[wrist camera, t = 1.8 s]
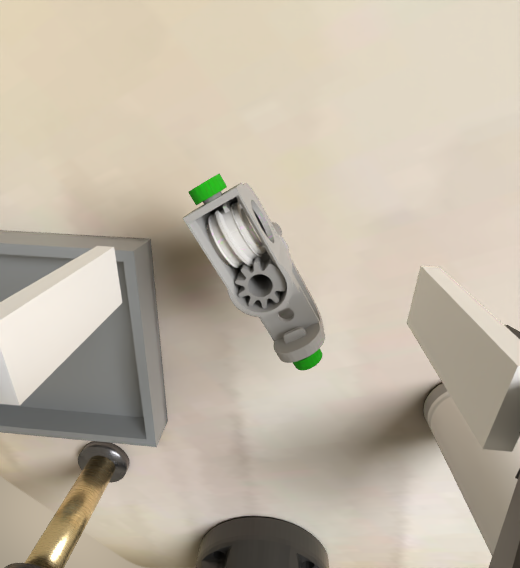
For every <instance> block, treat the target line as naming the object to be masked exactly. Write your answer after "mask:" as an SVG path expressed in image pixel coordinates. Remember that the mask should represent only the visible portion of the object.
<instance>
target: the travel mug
mask: <svg viewBox="0 0 520 568" xmlns="http://www.w3.org/2000/svg"><path fill="white" fill-rule="evenodd" d="M424 416H425V419H426V421H427V423H428V425H429V427H430V429H431V431H432V433H433V435H434V438H435V440H436V442H437V444H438V446H439V448H440V450H441V452H442V454H443V456H444V458H445V460H446V462H447V464H448V466H449V468H450V470H451V472H452V474H453V477H454V479H455V481H456V483H457V485H458V487H459V489H460V491H461V493H462V495H463V497H464V499H465V501H466V503H467V505H468V507H469V509H470V511H471V514H472V516H473V518H474V520H475V522H476V524H477V526H478V528H479V530H480V532H481V534H482V536H483V538H484V540H485V542H486V544H487V546H488V548H489V550H490V553H491V555H492V556H493V553H494V550H495V547H496V544H497V541H498V538H499V535H500V532H501V529H502V526H503V523H504V520H505V517H506V514H507V511H508V508H509V505H510V502H511V499H512V496H513V493H514V490H515V487H516V484H517V481H518V479H516V478H515V476H516V475H517V473H518V471H519V469H520V437H519V439H518V441H517V443H516V445H515V447H514V449H513V451H512V452H509V451H498V450H487V449H482V447H481V446H480V444H479V442H478V441H477V439H476V437H475V436H474V434H473V432H472V431H471V429H470V427H469V426H468V424H467V422H466V421H465V419H464V417H463V416H462V414H461V412H460V411H459V409H458V407H457V406H456V404H455V402H454V401H453V399H452V398H451V396H450V394H449V393H448V391H447V389H446V388H445V386H444V384H443V383H442V384H440V385H439V386H437V387H436V388H435V389H434V390H432V391H431V393H430V394H429V395H428V397H427V399H426V401H425V404H424Z"/></svg>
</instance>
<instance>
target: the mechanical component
mask: <svg viewBox="0 0 520 568" xmlns="http://www.w3.org/2000/svg"><path fill="white" fill-rule="evenodd" d="M226 187H227V186H226V184H225V183H224V181H223V179H222V177H221V176H220V174H218V175H216V176H214V177H212V178H211V179H209V180H207V181H206V182H204V183H202V184H201V185H199V186H197V187H196V188H194V189H192V190H191V191H189V194H190V196H191V197H192V199H193V201H194V202H195V204H196V205H198V204H199V203H201V202H203V203H204V205H202V206H200V207H199V208H197V209H195V210H194V211H192V212H191V213H189V214H188V215H187V216H185V217H184V218H183V220H184V221H185V223H186V225H187V226H188V228H189V229H190V231H191V232H192V234H193V236H194V237H195V239H196V240H197V242H198V243H199V245H200V247H201V248H202V250H203V251H204V253H205V254H206V256H207V258H208V259H209V261H210V262H211V264H212V265H213V267H214V268H215V270H216V272H217V273H218V275H219V276H220V278H221V279H222V281H223V283H224V284H225V286H226V287H227V289H228V294H229V296H230V299H231V301H232V302H233V304H234V305H235V306H236V307H237V308H238V309H239V310H241V311H242V312H243V313H246V314H248V315H251V316H254V317H259V318H260V319H261V321H262V323H263V324H264V326H265V327H266V329H267V331H268V332H269V334H270V335H271V337H272V339H273V340H274V350H275V352H276V353H277V355H278V356H279V358H280V360H282V361H283V362H287V363H291V362H293V364H294V365H295V367H296V368H297V369H298V370H307V369H310V368H312V367H314V366H315V365H316V364H318V363H319V361H320V360H321V358H322V352H321V350H320V347H321V346H322V344H323V343H324V340H325V334H324V328H323V323H322V319H321V316H320V313H319V311H318V308H317V306H316V304H315V302H314V300H313V298H312V296H311V294H310V292H309V290H308V289H307V287H306V285H305V283H304V281H303V280H302V278H301V276H300V274H299V272H298V270H297V269H296V267H295V265H294V263H293V261H292V259H291V256H290V254H289V249H288V245H287V243H286V241H285V240H284V239H283V238H282V237H281V235H282V231H281V228H280V226H279V225H278V224H276V223H271V221H270V219H269V217H268V216H267V214H266V212H265V210H264V208H263V207H262V205H261V203H260V201H259V199H258V198H257V196H256V194H255V193H254V191H253V190H252V188H251V187H250V186H249V185H248V184H247V183H245V184H242V183H240V184H238V185H236V186H235V187H233V188H231V189H230V190H228V191H226V192H224V193H223V194H222V193H221V190H223V189H224V188H226ZM207 228H208V229H207ZM207 233H208V234H207ZM224 262H225V263H227V264H228V265H227V264H225V263H224Z"/></svg>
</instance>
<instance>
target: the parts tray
mask: <svg viewBox="0 0 520 568" xmlns="http://www.w3.org/2000/svg"><path fill="white" fill-rule="evenodd" d="M96 246H108V247H114V250H115V257H116V263H117V270H118V277H119V283H120V290H121V297H122V304H121V305H120V306H119V307H118V308H117V309H116V310H115V311H114V312H113V313H112V314H111V315H110V316H109V317H108V318H107V319H106V320H105V321H104V322H103V323H102V324H101V325H100V326H99V327H98V328H97V329H96V330H95V331H94V332H93V333H92V334H91V335H90V336H89V337H88V338H87V339H86V340H85V341H84V342H83V343H82V344H81V345H80V346H79V347H78V348H77V349H76V350H75V351H74V352H73V353H72V354H71V355H70V356H69V357H68V358H67V359H66V360H65V361H64V362H63V363H62V364H61V365H60V366H59V367H58V368H57V369H56V370H55V371H54V372H53V373H52V374H51V375H50V376H49V377H48V378H47V379H46V380H45V381H44V382H43V383H42V384H41V385H40V386H39V387H38V388H37V389H36V390H35V391H34V392H33V393H32V394H31V395H30V396H29V397H28V398H27V399H26V400H25V401H24V402H23V403H22V404H21V405H20V406H19V405H8V404H0V432H3V433H14V434H24V435H35V436H46V437H56V438H67V439H77V440H88V441H98V442H109V443H120V444H130V445H141V446H151V447H157V444H158V442H159V440H160V437H161V435H162V433H163V430H164V428H165V426H166V424H167V421H168V420H167V409H166V399H165V388H164V378H163V367H162V357H161V346H160V335H159V325H158V314H157V304H156V293H155V283H154V272H153V261H152V251H151V240H150V239H140V238H123V237H106V236H88V235H71V234H54V233H36V232H19V231H2V230H0V302H1V301H3V300H4V299H6V298H8V297H10V296H12V295H14V294H15V293H17V292H19V291H20V290H22V289H24V288H26V287H27V286H29V285H31V284H32V283H34V282H36V281H38V280H39V279H41V278H43V277H45V276H46V275H48V274H50V273H51V272H53V271H55V270H57V269H58V268H60V267H62V266H63V265H65V264H67V263H69V262H70V261H72V260H74V259H75V258H77V257H79V256H81V255H82V254H84V253H86V252H88V251H89V250H91V249H93V248H94V247H96Z"/></svg>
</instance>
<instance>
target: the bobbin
mask: <svg viewBox="0 0 520 568" xmlns="http://www.w3.org/2000/svg"><path fill="white" fill-rule="evenodd" d="M78 464H79V466H80V468H81V470H82V472H81V474H80V475H79V477H78V479H77V480H76V482H75V483H74V485H73V487H72V488H71V490H70V491H69V493H68V495H67V496H66V498H65V499H64V501H63V503H62V504H61V506H60V507H59V509H58V511H57V512H56V514H55V515H54V517H53V519H52V520H51V522H50V523H49V525H48V527H47V528H46V530H45V531H44V533H43V535H42V536H41V538H40V539H39V541H38V543H37V544H36V546H35V547H34V549H33V551H32V552H31V554H30V556H29V557H28V559H27V560H26V562H25V563H14V564H10V565H8V566H6V567H5V568H64V566H65V564H66V562H67V561H68V559H69V557H70V555H71V553H72V551H73V549H74V547H75V545H76V544H77V542H78V540H79V538H80V536H81V534H82V532H83V530H84V528H85V526H86V525H87V523H88V521H89V519H90V517H91V515H92V513H93V511H94V509H95V507H96V506H97V504H98V502H99V500H100V498H101V496H102V494H103V492H104V490H105V488H106V487H107V485H108V483H109V482H116V481H119V480H120V479H122V478H123V477H124V475H125V474H126V472H127V469H128V467H129V458H128V456H127V454H126V453H125V452H124V451H123V450H122V449H121V448H120V447H118V446H116V445H114V444H112V443H109V442H98V441H94V442H91V443H89V444H87V445H86V446H85V447H84V449H83V450H82V452H81V453H80V455H79V457H78Z"/></svg>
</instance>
